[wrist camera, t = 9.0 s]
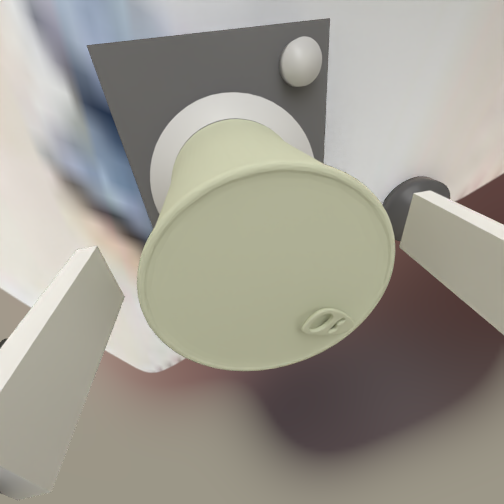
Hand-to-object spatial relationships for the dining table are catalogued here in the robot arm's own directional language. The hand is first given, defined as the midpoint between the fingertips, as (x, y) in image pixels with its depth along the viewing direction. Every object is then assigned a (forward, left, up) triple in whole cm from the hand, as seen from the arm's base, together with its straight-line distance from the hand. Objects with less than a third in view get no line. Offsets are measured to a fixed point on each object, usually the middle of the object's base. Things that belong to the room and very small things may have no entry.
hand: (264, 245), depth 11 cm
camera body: (0, 0, -14) cm, 14 cm away
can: (0, 0, -9) cm, 9 cm away
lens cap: (+7, +19, -14) cm, 25 cm away
